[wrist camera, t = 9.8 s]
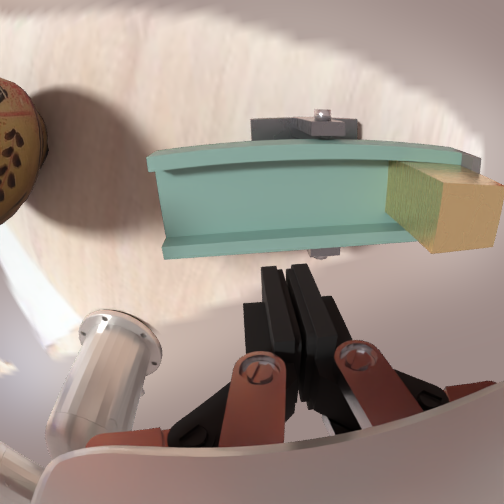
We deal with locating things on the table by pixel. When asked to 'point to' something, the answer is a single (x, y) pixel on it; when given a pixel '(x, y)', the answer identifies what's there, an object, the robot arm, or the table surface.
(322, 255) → the pivot stand
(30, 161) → the ceramic jug
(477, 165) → the balance beam
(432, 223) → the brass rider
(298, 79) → the table surface
